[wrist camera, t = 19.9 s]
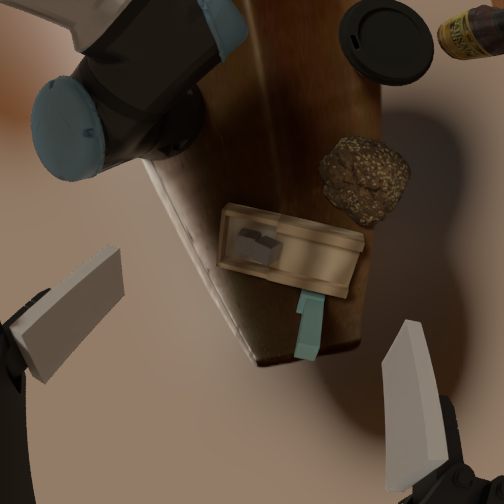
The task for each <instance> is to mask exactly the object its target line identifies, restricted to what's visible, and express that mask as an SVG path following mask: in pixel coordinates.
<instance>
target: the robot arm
mask: <svg viewBox="0 0 504 504" xmlns="http://www.w3.org/2000/svg"><path fill="white" fill-rule="evenodd" d="M0 3H2V4H5V5H8V6H11V7H14V8H16V9H19V10H22V11H25V12H27V13H30V14H32V15H35V16H38V17H40V18H43V19H45V20H47V21H50V22H52V23H55V24H57V25H60V26H62V27H64V28H66V29H69V30H70V32H71V34H72V39H73V44H74V48H75V50H76V51H77V52H79V53H81V54H83V55H85V57H84V58H83V59H82V61H81V62H80V63H79V65H78V66H77V68H76V69H75V71H74V72H73V73H72V74H71V75H70V76H59V77H58V78H56V79H54V80H51V81H49V82H48V83H46V84H45V85H44V86H43V87H42V88H41V90H40V91H39V93H38V95H37V97H36V99H35V102H34V105H33V109H32V115H31V130H32V138H33V143H34V147H35V150H36V152H37V155H38V157H39V158H40V160H41V162H42V164H43V165H44V167H45V168H46V169H47V170H48V171H49V172H50V173H51V174H52V175H53V176H55V177H57V178H58V179H60V180H65V181H69V182H74V181H79V180H82V179H87V178H92V177H94V176H96V175H97V174H98V173H101V172H103V171H106V170H108V169H110V168H112V167H115V166H118V165H120V164H122V163H125V162H127V161H130V160H132V159H135V158H142V159H147V160H163V159H167V158H170V157H173V156H175V155H178V154H179V153H181V152H183V151H184V150H186V149H187V148H188V147H189V146H190V145H191V144H192V143H193V142H194V140H195V139H196V137H197V135H198V134H199V131H200V129H201V126H202V122H203V116H204V106H203V100H202V96H201V93H200V91H199V89H198V87H197V85H196V83H197V82H198V81H199V80H201V79H202V78H203V77H204V76H205V75H206V74H207V73H208V72H209V71H211V70H212V69H213V68H214V67H215V66H216V65H217V64H219V63H220V62H221V63H223V62H224V61H225V60H226V57H227V56H228V55H229V54H230V53H231V52H232V51H234V50H235V49H236V48H237V47H238V46H239V45H240V44H242V43H243V42H244V40H245V39H246V37H247V35H248V25H247V22H246V20H245V19H244V17H243V16H242V14H241V13H240V12H239V10H238V9H237V7H236V6H235V5H234V4H233V2H232V1H231V0H0ZM124 295H125V294H124V286H123V276H122V266H121V255H120V248H118V247H114V246H111V245H106V246H105V247H104V248H102V249H101V250H100V251H98V252H97V253H96V254H95V255H93V256H92V257H91V258H90V259H88V260H87V261H86V262H85V263H83V264H82V265H81V266H79V267H78V268H77V269H76V270H75V271H73V272H72V273H71V274H69V275H68V276H67V277H66V278H65V279H63V280H62V281H61V282H60V283H58V285H56V286H55V287H54V288H53V289H50V288H48V289H46V290H44V291H42V292H40V293H38V294H37V295H36V296H35V297H33V298H32V299H31V301H29V302H28V303H26V304H25V306H23V307H22V308H21V309H20V310H18V312H16V313H15V314H14V315H13V316H12V317H11V318H10V319H9V320H7V321H6V322H5V323H4V324H3V325H2V324H1V322H0V504H36V501H35V496H34V490H33V484H32V478H31V471H30V463H29V453H28V442H27V428H26V376H25V372H24V371H25V369H26V368H27V367H28V368H29V370H30V372H31V374H32V376H33V377H35V378H36V379H38V380H39V381H41V382H42V383H44V384H46V382H47V381H48V380H49V379H50V378H51V377H52V375H53V374H54V373H55V372H56V371H57V370H58V368H59V367H60V366H61V365H62V364H63V362H64V361H65V360H66V359H67V358H68V357H69V356H70V354H71V353H72V352H73V351H74V350H75V349H76V348H77V346H78V345H79V344H80V343H81V342H82V341H83V340H84V339H85V337H86V336H87V335H88V334H89V333H90V332H91V331H92V330H93V329H94V328H95V326H96V325H97V324H98V323H99V322H100V321H101V320H102V319H103V318H104V316H105V315H106V314H107V313H108V312H109V311H110V310H111V309H112V308H113V307H114V306H115V305H116V304H117V303H118V302H119V300H120V299H121V298H122V297H123V296H124ZM382 372H383V386H384V402H385V425H386V486H385V491H386V492H404V491H405V490H407V489H409V488H410V487H412V486H413V494H411V495H409V496H408V497H406V498H404V499H403V500H401V501H400V502H399V503H398V504H402V503H403V504H504V476H503V475H501V476H498V477H497V478H495V479H494V480H492V481H488V480H485V479H481V478H478V477H475V474H474V471H473V470H472V469H471V468H470V466H468V465H466V464H464V461H463V455H462V448H461V442H460V436H459V430H458V429H457V427H458V425H457V420H456V414H455V410H454V406H453V404H452V402H451V401H450V399H449V398H448V396H444V395H438V391H437V386H436V381H435V377H434V372H433V368H432V364H431V360H430V356H429V352H428V348H427V344H426V340H425V336H424V333H423V329H422V326H421V323H420V322H415V321H410V320H405V322H404V324H403V326H402V328H401V329H400V331H399V333H398V335H397V337H396V339H395V341H394V342H393V344H392V346H391V348H390V349H389V351H388V353H387V355H386V357H385V358H384V360H383V362H382Z"/></svg>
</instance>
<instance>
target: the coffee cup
mask: <svg viewBox="0 0 504 504" xmlns="http://www.w3.org/2000/svg"><path fill="white" fill-rule="evenodd" d="M339 42H340V46H341V49H342V51H343V53H344V55H345V57H346V59H347V60H348V61H349V63H350V64H351V65H352V67H353V68H354V69H355V70H356V71H357V72H358V73H359V74H360V75H362V76H364V77H366V78H368V79H370V80H372V81H374V82H376V83H380V84H383V85H389V86H403V85H407V84H411V83H413V82H415V81H417V80H418V79H419V78H421V77H422V76H423V75H424V74H425V73H426V72H427V70H428V69H429V68H430V65H431V63H432V60H433V55H434V43H433V39H432V35H431V33H430V31H429V28H428V27H427V25H426V23H425V22H424V20H423V19H422V18H421V17H420V16H419V15H418V14H417V13H416V12H415V11H414V10H413V9H411V8H410V7H408V6H407V5H405V4H403V3H401V2H398V1H395V0H362V1H360V2H358V3H356V4H354V5H353V6H352V7H350V8H349V9H348V10H347V12H346V13H345V14H344V15H343V18H342V20H341V22H340V26H339Z"/></svg>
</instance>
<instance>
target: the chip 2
mask: <svg viewBox="0 0 504 504" xmlns="http://www.w3.org/2000/svg"><path fill="white" fill-rule="evenodd" d="M281 245H282V243H281V242H279V241H277V240H275V239H272V238H270V237H268V236H264V237H262V238H259V239H257V240H255V241H254V245H253V252H252V258H251V259H253V260H255V261H257V262H259V263H261V264H263V265H265V266H267V267H268V266H269V265H271V264H273V263H274V262H276V261H277V260H279V255H280V250H281Z"/></svg>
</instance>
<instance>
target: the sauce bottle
mask: <svg viewBox="0 0 504 504" xmlns="http://www.w3.org/2000/svg"><path fill="white" fill-rule="evenodd" d="M437 37H438V41H439V44H440V46H441V48H442V49H443V50H444V51H445V52H446V53H447V54H448V55H449V56H451V57H452V58H455V59H459V60H468V59H476V58H484V57H491V56H497V55H502V54H504V9H499V8H497V7H490V6H487V5H481V6H479V7H477V8H473V9H470V10H468V11H466V12H464V13H462V14H460V15H458V16H455V17H453V18H451V19H449V20H447V21H445V22H444V23H443V24H442V25H441V26H440V27H439V29H438V32H437Z"/></svg>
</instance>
